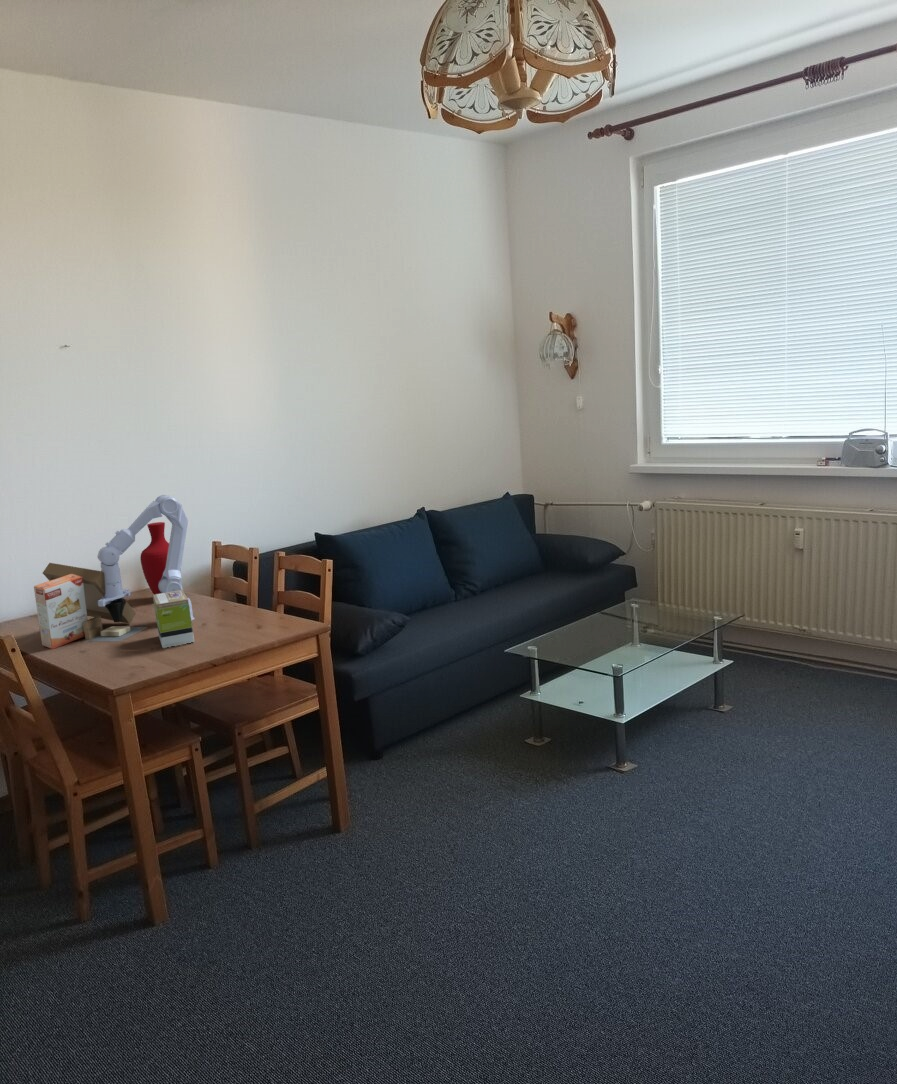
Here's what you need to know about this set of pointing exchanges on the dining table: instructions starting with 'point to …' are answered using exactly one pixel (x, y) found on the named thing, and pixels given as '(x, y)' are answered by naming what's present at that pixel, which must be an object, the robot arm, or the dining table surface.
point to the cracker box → (61, 610)
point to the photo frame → (89, 589)
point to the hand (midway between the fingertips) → (117, 621)
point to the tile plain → (92, 627)
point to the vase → (155, 556)
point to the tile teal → (115, 631)
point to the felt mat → (118, 638)
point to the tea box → (173, 618)
